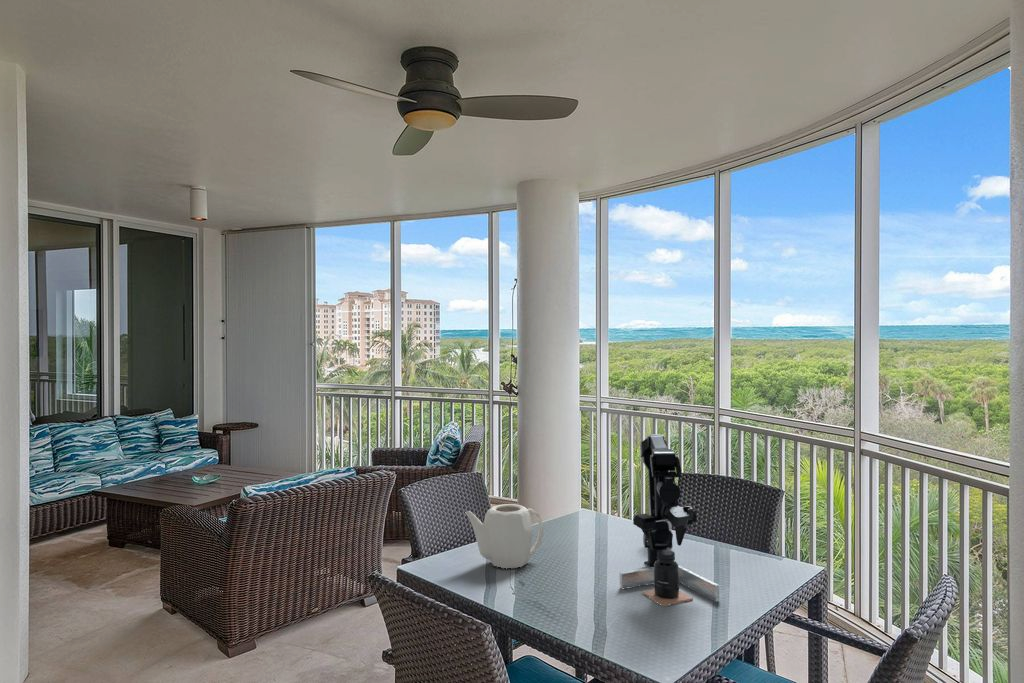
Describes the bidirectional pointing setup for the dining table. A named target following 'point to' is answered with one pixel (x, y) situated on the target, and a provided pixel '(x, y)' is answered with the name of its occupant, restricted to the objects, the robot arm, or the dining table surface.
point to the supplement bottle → (666, 575)
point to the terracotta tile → (664, 601)
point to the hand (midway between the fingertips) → (666, 547)
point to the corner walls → (685, 577)
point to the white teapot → (506, 535)
